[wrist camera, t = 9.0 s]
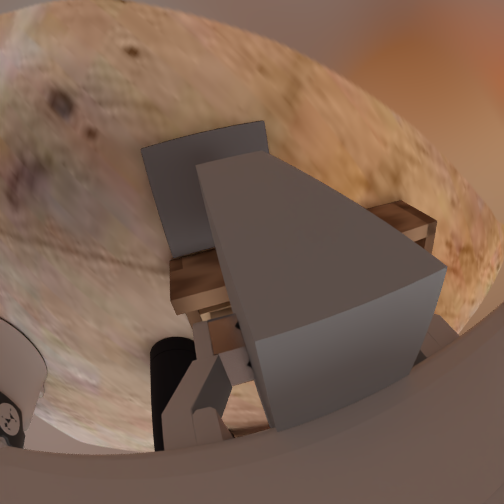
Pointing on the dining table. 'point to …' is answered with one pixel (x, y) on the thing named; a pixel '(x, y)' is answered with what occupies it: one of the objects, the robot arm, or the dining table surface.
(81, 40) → the dining table surface
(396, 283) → the gray rectangular block
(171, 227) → the flat gray square tile
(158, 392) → the wine bottle
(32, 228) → the dining table surface
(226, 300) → the wooden box
